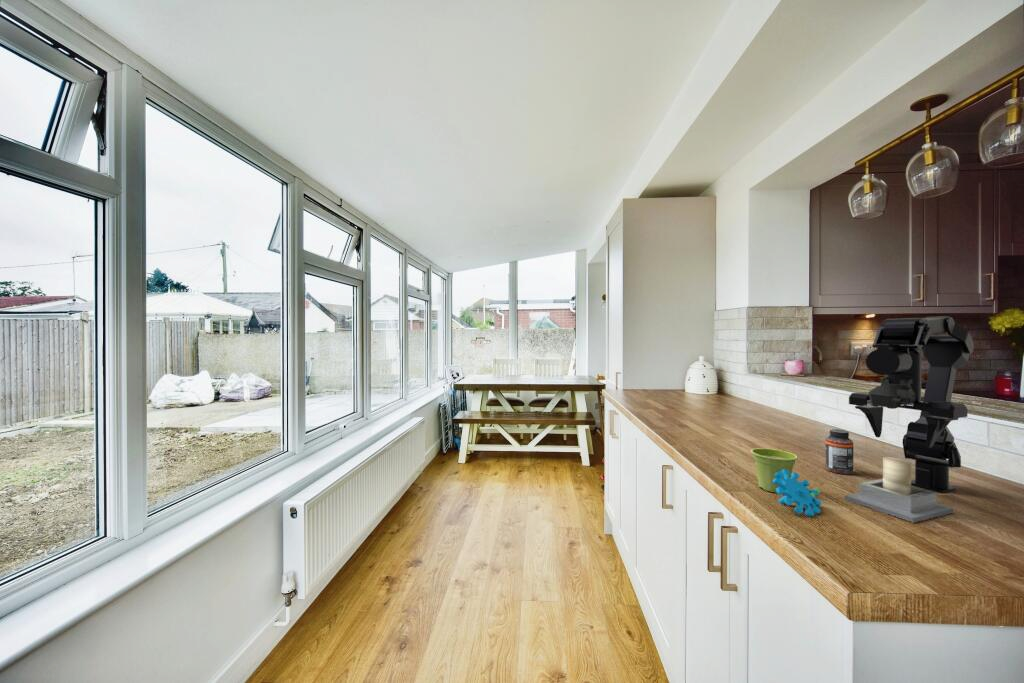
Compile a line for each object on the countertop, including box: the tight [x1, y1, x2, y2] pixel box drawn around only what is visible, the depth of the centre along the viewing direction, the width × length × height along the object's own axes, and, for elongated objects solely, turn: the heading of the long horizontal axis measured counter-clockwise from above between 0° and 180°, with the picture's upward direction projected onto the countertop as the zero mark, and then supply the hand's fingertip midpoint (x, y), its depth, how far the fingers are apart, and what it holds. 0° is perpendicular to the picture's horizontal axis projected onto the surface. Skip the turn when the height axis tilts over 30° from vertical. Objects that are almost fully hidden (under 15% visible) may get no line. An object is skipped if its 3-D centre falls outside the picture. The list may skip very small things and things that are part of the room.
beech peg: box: [882, 456, 912, 495], centre depth 86 cm, size 4×4×9 cm
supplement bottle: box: [824, 428, 854, 475], centre depth 108 cm, size 6×6×11 cm
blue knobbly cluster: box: [773, 469, 823, 517], centre depth 85 cm, size 11×6×10 cm
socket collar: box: [858, 478, 938, 513], centre depth 86 cm, size 9×9×3 cm
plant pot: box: [750, 447, 798, 494], centre depth 95 cm, size 9×9×9 cm
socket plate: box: [843, 491, 954, 523], centre depth 86 cm, size 14×12×1 cm
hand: (902, 441), depth 89 cm, fingers open, 9 cm apart
